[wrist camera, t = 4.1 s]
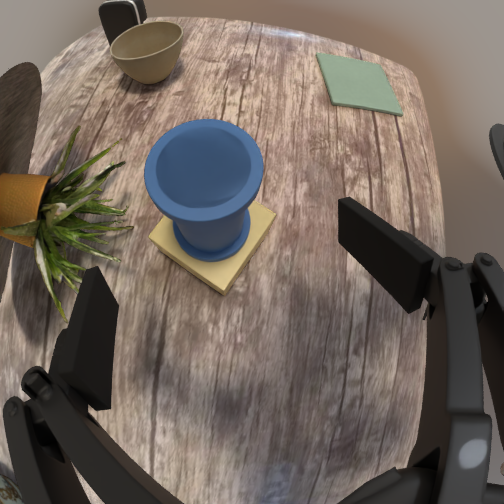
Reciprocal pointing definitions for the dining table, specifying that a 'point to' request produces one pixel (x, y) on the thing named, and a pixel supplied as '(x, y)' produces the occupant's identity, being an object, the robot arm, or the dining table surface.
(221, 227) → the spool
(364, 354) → the dining table surface
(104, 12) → the battery charger
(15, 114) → the potted plant
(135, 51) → the beige round container
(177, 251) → the platform
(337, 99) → the mat
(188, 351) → the dining table surface
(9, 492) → the bowl
